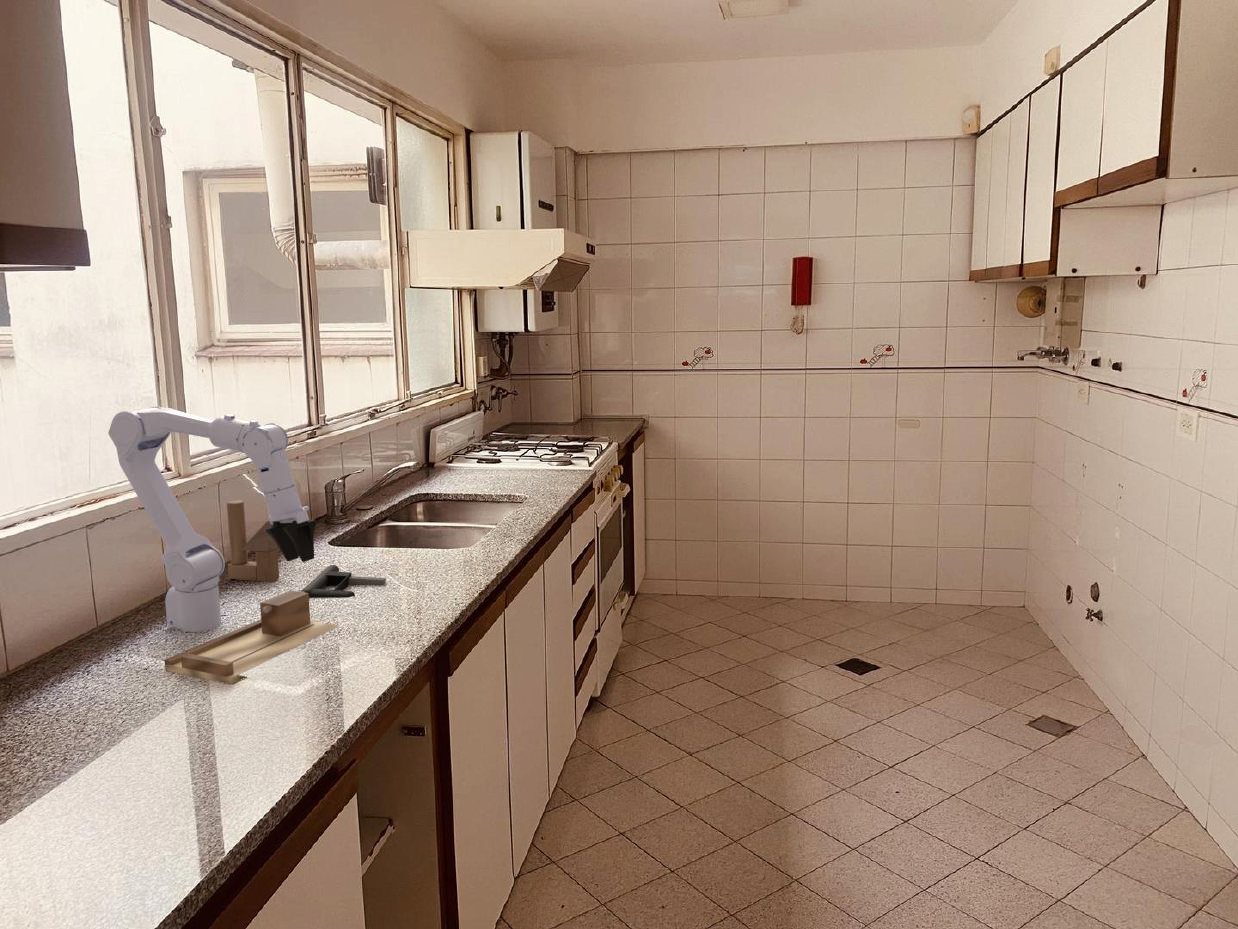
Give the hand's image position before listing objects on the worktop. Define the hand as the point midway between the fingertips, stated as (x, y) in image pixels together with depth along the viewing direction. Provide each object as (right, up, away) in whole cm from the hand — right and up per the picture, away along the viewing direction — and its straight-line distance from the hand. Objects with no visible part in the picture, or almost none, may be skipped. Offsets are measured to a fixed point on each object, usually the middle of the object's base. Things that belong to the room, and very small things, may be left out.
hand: (300, 560), depth 169 cm
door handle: (-2, -10, +33) cm, 35 cm away
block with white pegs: (-4, -13, +5) cm, 15 cm away
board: (-7, -16, -3) cm, 18 cm away
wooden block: (-25, -9, +40) cm, 48 cm away
